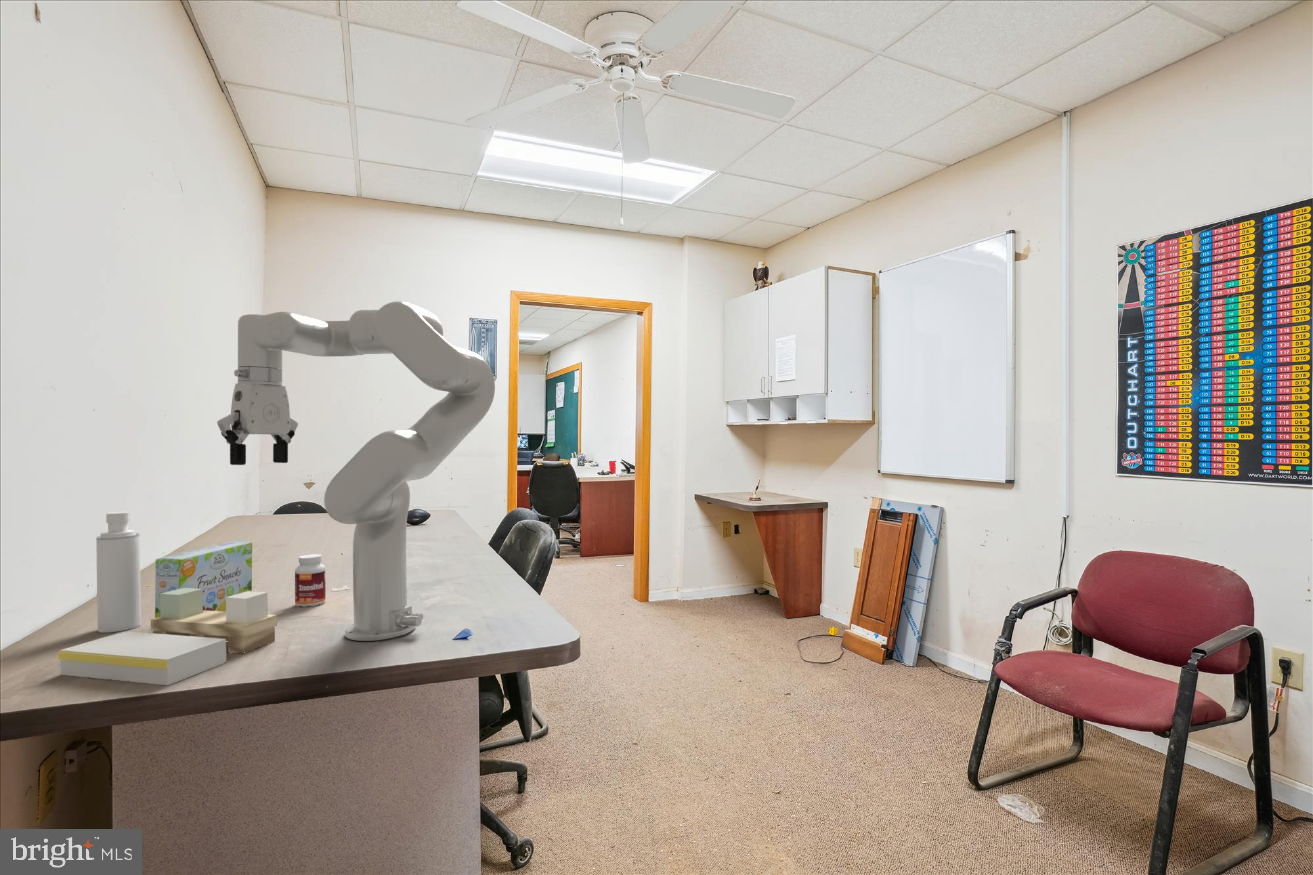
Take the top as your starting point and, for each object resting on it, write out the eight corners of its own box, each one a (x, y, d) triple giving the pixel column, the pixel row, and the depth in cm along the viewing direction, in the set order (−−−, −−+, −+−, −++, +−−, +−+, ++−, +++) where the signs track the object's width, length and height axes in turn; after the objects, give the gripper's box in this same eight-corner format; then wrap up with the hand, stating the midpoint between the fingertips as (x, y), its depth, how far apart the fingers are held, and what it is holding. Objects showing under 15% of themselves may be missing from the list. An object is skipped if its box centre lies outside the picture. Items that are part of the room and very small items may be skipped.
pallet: (277, 641, 117) (276, 614, 117) (244, 654, 110) (243, 626, 110) (187, 634, 122) (187, 609, 122) (151, 646, 115) (150, 619, 115)
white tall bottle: (90, 630, 126) (88, 505, 126) (129, 621, 132) (127, 502, 132) (109, 634, 123) (107, 507, 123) (148, 624, 129) (146, 503, 129)
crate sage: (202, 612, 120) (202, 588, 120) (179, 619, 115) (179, 594, 115) (184, 611, 121) (183, 587, 121) (160, 617, 116) (160, 593, 116)
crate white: (267, 616, 116) (267, 592, 116) (246, 623, 112) (246, 598, 112) (247, 615, 117) (247, 591, 117) (226, 622, 113) (225, 597, 113)
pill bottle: (296, 609, 140) (295, 559, 140) (293, 603, 145) (292, 555, 145) (327, 604, 143) (327, 556, 143) (323, 599, 148) (323, 552, 148)
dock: (226, 662, 106) (225, 638, 106) (165, 686, 96) (165, 660, 96) (125, 653, 112) (125, 631, 112) (58, 675, 102) (58, 650, 102)
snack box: (181, 636, 122) (180, 558, 122) (153, 636, 122) (152, 558, 122) (254, 606, 143) (253, 540, 143) (229, 606, 143) (228, 540, 143)
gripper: (235, 373, 116) (235, 466, 116) (310, 381, 133) (309, 462, 133) (204, 374, 118) (203, 465, 118) (281, 381, 135) (281, 461, 135)
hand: (259, 463), depth 125 cm, fingers open, 9 cm apart
